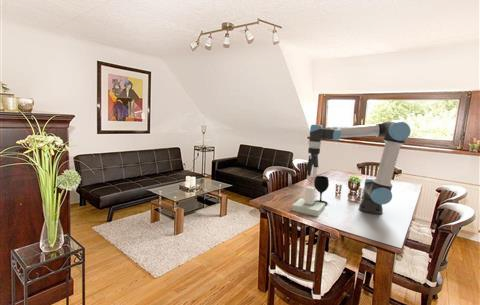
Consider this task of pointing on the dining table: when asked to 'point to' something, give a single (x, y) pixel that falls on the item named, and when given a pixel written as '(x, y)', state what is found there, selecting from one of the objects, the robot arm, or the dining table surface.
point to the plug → (309, 196)
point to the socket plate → (308, 207)
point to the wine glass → (321, 186)
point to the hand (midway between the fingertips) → (311, 178)
